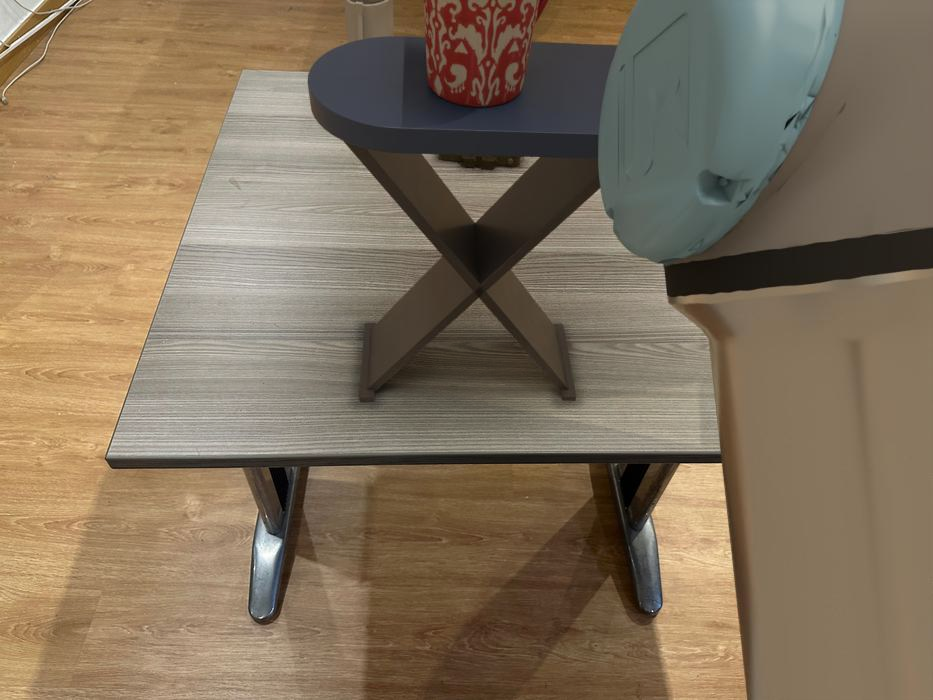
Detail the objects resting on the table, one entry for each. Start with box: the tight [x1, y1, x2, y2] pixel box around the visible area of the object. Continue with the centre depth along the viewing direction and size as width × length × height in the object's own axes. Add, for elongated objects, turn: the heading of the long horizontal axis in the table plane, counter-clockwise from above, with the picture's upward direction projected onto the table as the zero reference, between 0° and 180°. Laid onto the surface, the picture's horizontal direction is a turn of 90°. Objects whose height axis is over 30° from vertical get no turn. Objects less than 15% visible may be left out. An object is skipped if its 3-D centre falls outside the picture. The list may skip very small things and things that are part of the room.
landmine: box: [438, 154, 522, 170], centre depth 104 cm, size 14×3×15 cm
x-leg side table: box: [307, 35, 618, 402], centre depth 62 cm, size 26×14×34 cm, turn 93°
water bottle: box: [343, 0, 395, 43], centre depth 98 cm, size 9×8×25 cm
